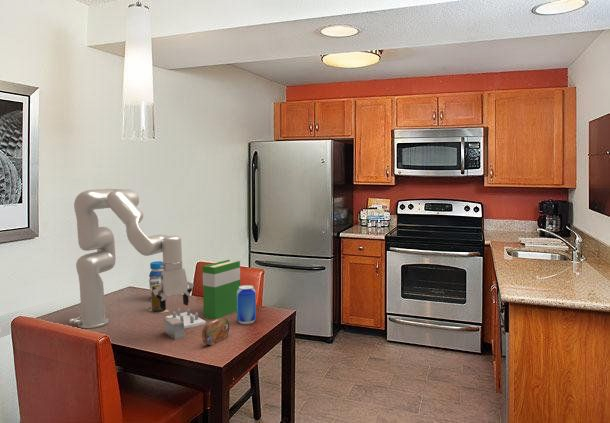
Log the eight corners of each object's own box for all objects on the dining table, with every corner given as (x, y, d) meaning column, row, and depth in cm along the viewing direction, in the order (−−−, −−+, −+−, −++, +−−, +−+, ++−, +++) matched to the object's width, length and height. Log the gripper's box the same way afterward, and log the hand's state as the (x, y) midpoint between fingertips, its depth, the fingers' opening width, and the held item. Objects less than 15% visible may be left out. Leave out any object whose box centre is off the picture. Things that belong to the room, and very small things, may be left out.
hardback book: (229, 307, 232) (228, 259, 230) (240, 309, 229) (239, 261, 226) (203, 316, 218) (202, 266, 215) (215, 319, 214) (214, 267, 211)
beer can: (238, 325, 205) (237, 289, 204) (236, 319, 213) (235, 285, 212) (257, 323, 208) (257, 288, 206) (254, 318, 216) (253, 284, 214)
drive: (174, 339, 189) (174, 324, 188) (164, 333, 197) (164, 318, 196) (184, 337, 192) (184, 322, 191) (174, 330, 199) (173, 316, 199)
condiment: (162, 307, 232) (161, 283, 231) (169, 311, 226) (168, 287, 225) (148, 310, 228) (147, 286, 227) (154, 314, 221) (154, 289, 220)
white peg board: (182, 329, 201) (182, 319, 200) (165, 318, 214) (165, 310, 214) (205, 323, 208) (205, 314, 207) (187, 314, 221) (187, 305, 221)
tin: (207, 348, 180) (206, 327, 179) (200, 346, 181) (200, 325, 181) (230, 335, 193) (229, 315, 193) (224, 334, 195) (223, 314, 194)
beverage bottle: (170, 299, 246) (168, 261, 244) (157, 303, 239) (156, 264, 237) (159, 296, 251) (157, 260, 249) (146, 300, 244) (144, 262, 242)
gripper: (155, 270, 183) (158, 313, 184) (196, 264, 194) (198, 304, 195) (148, 268, 189) (150, 309, 190) (188, 261, 200) (190, 301, 201)
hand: (174, 307), depth 193 cm, fingers open, 9 cm apart
